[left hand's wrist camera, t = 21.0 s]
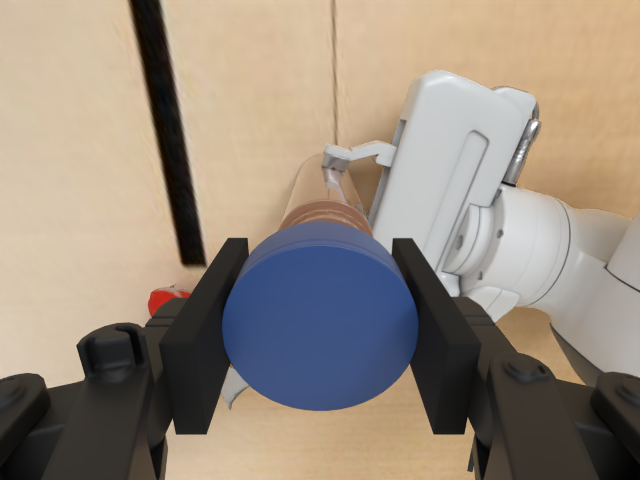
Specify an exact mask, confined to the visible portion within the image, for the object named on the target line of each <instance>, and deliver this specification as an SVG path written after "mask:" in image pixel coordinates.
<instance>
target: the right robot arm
mask: <svg viewBox="0 0 640 480" xmlns="http://www.w3.org/2000/svg"><path fill="white" fill-rule="evenodd" d="M531 113H532V119H529V118H530V116H531ZM538 118H539V106H538V103H537V101H536V98H535V97H534V96H532V95H531V94H530V93H528V92H526V91H523V90H519V89H516V88H513V87H509V86H498V87H494V88H492V89H489V88H487V87H485V86H483V85H481V84H479V83H476V82H474V81H472V80H470V79H467V78H465V77H462V76H460V75H457V74H454V73H451V72H448V71H445V70H440V69H435V70H430V71H427V72H425V73H423V74H421V75H420V76H418V77H416V78H415V79H413V80H412V82H411V84H410V87H409V90H408V93H407V96H406V99H405V102H404V105H403V108H402V112H401V115H400V118H399V121H398V124H397V127H396V130H395V133H394V137H393V140H392V143H391V144H390V143H386V142H382V141H379V140H374V141H371V142H367V143H364V144H360V145H357V146H353V147H350V149H348V148H344V147H340V146H337V145H333V144H328V143H326V145H325V149H324V153H323V157H322V162H321V166H323V167H326V168H333V167H334V168H335V169H336V170H338V171H341V172H346V169H347V166H348V163H349V161H354V160H357V159H361V158H365V157H369V156H372V159H373V160H374V161H375V162H376V163H377V164H380V165H384V168H383V171H382V174H381V177H380V180H379V183H378V187H377V190H376V193H375V196H374V199H373V202H372V205H371V208H370V212H369V215H368V218H367V220H368V222H369V225H370V227H371V230H372V233H373V238H374V239H375V240H377V241H378V242H379V243H380V244H381V245H382V246H383V247H385V248H386V249H387V251H388V252H389V253H390V254H392V241H393V238H412V239H413V240H414V242H415V243H416V245H417V246H418V248H419V249H420V251H421V252H422V254H423V255H424V257H425V258H426V260H427V261H428V263H429V264H430V266H431V267H432V269H433V270H434V272H435V273H436V275H437V276H438V278H439V279H440V281H441V282H442V284H443V285H444V287H445V289H446V290H447V292H448V293H449V295H450V296H451V297H469V298H470V299H472V300H474V301H475V302H477V303H478V304H480V305H481V306H482V307H483V309H484V310H485V311H486V313H487V314H488V315H489V317H490V318H491V319H492V320H493V322H494V323H496V322H497V321H498V320H499V319H500V318H501V317H502V316H504V315H505V314H506V313H508V312H509V311H510V310H511V309H513V308H514V307H529V308H535V309H538V310H541V311H543V312H544V313H546V314H547V315H549V317H550V318H551V323H550V327H551V329H552V332H553V334H554V336H555V338H556V340H557V342H558V343H559V345H560V347H561V349H562V350H563V352H564V354H565V355H566V357H567V359H568V361H569V362H570V364H571V366H572V367H573V369H574V371H575V372H576V373H577V375H578V376H579V377H580V378H581V380H582V381H583V382H584V383H585V384H586V385H587V386H590V387H594V385H595V382H596V379H597V377H598V376H599V375H601V374H602V373H605V372H620V373H627V374H630V375H634V376H637V377H640V209H639V210H638V212H637V214H636V215H635V217H634V219H632V218H629V217H626V216H622V215H619V214H616V213H612V212H609V211H605V210H600V209H591V208H586V209H577V208H573V207H571V206H569V205H568V204H566V203H565V202H563V201H562V200H560V199H558V198H555V197H553V196H549V195H546V194H542V193H538V192H534V191H531V190H527V189H523V188H520V187H516V186H515V185H516V183H517V180H518V178H519V176H520V174H521V172H522V169H523V167H524V165H525V162H526V161H525V160H526V159H527V155H528V152H529V150H530V148H531V146H532V144H533V142H535V140H536V138H537V136H538V134H539V131H540V128H541V122H540V121H538Z"/></svg>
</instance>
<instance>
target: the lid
mask: <svg viewBox="0 0 640 480" xmlns="http://www.w3.org/2000/svg"><path fill="white" fill-rule="evenodd" d="M418 327H419V318H418V313H417V309H416V305H415V302H414V300H413V298H412V295H411V293H410V291H409V289H408V286H407V284H406V282H405V280H404V278H403V276H402V274H401V271H400V269H399V267H398V265H397V263H396V262H395V260H394V258H393V257H392V256H391V254H390V253H389V252H388V251H387V249H386V248H385V247H383V246H382V245H381V244H380V243H379V242H378V241H377V240H375V239H374V238H372V237H371V236H370V235H368V234H366V233H364V232H362V231H360V230H358V229H356V228H353V227H350V226H347V225H343V224H339V223H332V222H308V223H302V224H297V225H294V226H290V227H287V228H285V229H283V230H280V231H278V232H276V233H275V234H273V235H271V236H270V237H268V238H267V239H265V240H264V241H263V242H262V243H260V244H259V245H258V246H257V247H256V248H255V249H254V250H253V251H252V252H251V254H250V255H249V257H248V258H247V259H246V261H245V263H244V265H243V267H242V269H241V271H240V273H239V275H238V277H237V279H236V281H235V284H234V286H233V288H232V290H231V292H230V294H229V297H228V299H227V301H226V304H225V307H224V311H223V317H222V333H223V342H224V347H225V350H226V354H227V356H228V358H229V360H230V362H231V364H232V366H233V367H234V369H235V370H236V372H237V373H238V374H239V375H240V376H241V378H242V379H243V380H244V381H245V382H246V383H247V384H248V385H250V386H251V387H252V388H253V389H254V390H256V391H257V392H259V393H260V394H261V395H263V396H265V397H267V398H269V399H271V400H273V401H275V402H277V403H280V404H282V405H286V406H289V407H293V408H297V409H303V410H312V411H330V410H338V409H343V408H348V407H352V406H355V405H358V404H361V403H364V402H366V401H368V400H370V399H372V398H374V397H376V396H377V395H379V394H381V393H382V392H384V391H385V390H386V389H388V388H389V387H390V386H391V385H392V384H393V383H394V382H396V381H397V380H398V379H399V378H400V376H401V375H402V374H403V372H404V371H405V370H406V368H407V367H408V365H409V363H410V361H411V360H412V357H413V355H414V352H415V350H416V344H417V336H418Z"/></svg>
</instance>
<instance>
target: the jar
mask: <svg viewBox="0 0 640 480" xmlns="http://www.w3.org/2000/svg"><path fill="white" fill-rule="evenodd" d="M322 157H323V154H319V155H315V156H313V157H311V158H309V159H308V160H307V161H306V162H305V163H304V164H303V165H302V167H301V169H300V171H299V174H298V176H297V179H296V182H295V185H294V188H293V190H292V193H291V196H290V199H289V202H288V204H287V207H286V210H285V213H284V216H283V218H282V221H281V224H280V227H279V230H278V231H280V230H283V229H285V228H287V227H290V226H294V225H297V224H302V223H308V222H332V223H339V224H343V225H347V226H350V227H353V228H356V229H358V230H360V231H362V232H364V233H366V234H368V235H370V236H371V237H372V238H373V233H372V230H371V227H370V225H369V222H368V220H367V217H366V214H365V212H364V209H363V206H362V204H361V201H360V199H359V196H358V193H357V191H356V188H355V185H354V183H353V180H352V178H351V175H350V172H349V170H348V168H347V169H346V172H341V171H338V170H336V169H335V168H334V167H333V168H326V167H323V166H321V162H322Z"/></svg>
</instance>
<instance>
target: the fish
mask: <svg viewBox="0 0 640 480" xmlns="http://www.w3.org/2000/svg"><path fill="white" fill-rule="evenodd" d="M190 295H191V292H189V291H186V290H182V289H177V288H174V285H173V286H171V287H170V288H159V289H156V290H154V291H153V292H151V295H150V299H149V301H148V308H149V312H150V315H151V317H152V316H153V314H154V313H155V312H156V311H157V309H158V308H159V307H160V306H161V305H163V304H164V303H166V302H167V301H169V300H170V299H172V298H189V296H190ZM249 386H250V385H248V384H247V383H246V382H245V381H244V380H243V379H242V378H241V376H240V375H239V374H238V373H237V372H236V370H235V369H233V368H231V367H229V369H228V372H227V375H226V378H225V381H224V384H223V387H222V390H221V393H222V395H223V398H224V400H225V402H226V403H227V405H228V407H229V409H230V410H231V406H232V402H233V401H234V400H235V399H236V397H237V396H238V395H239V394H240V393H241V392H242V391H244V390H245V389H246V388H247V387H249Z"/></svg>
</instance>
